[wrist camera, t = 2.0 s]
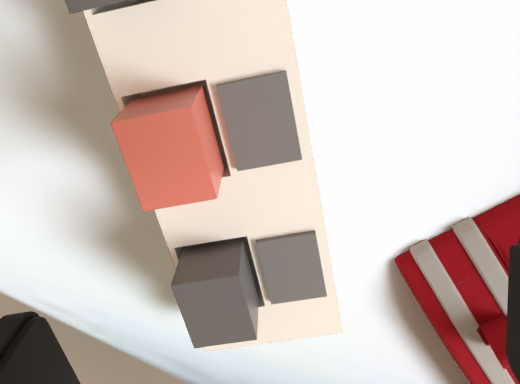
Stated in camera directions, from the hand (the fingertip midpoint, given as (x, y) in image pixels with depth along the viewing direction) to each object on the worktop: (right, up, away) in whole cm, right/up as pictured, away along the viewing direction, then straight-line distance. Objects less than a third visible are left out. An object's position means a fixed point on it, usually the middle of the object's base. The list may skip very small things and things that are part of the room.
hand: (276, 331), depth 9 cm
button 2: (-4, +6, +12) cm, 14 cm away
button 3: (-2, -1, +15) cm, 16 cm away
